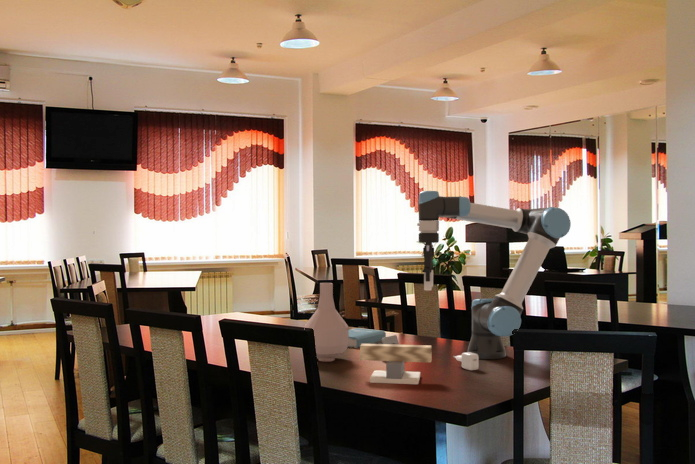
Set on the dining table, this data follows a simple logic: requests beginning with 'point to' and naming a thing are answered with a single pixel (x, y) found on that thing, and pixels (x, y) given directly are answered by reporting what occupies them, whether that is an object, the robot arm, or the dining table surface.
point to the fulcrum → (395, 374)
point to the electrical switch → (389, 340)
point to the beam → (396, 352)
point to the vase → (328, 326)
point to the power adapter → (468, 360)
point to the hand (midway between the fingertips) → (428, 288)
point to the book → (364, 336)
